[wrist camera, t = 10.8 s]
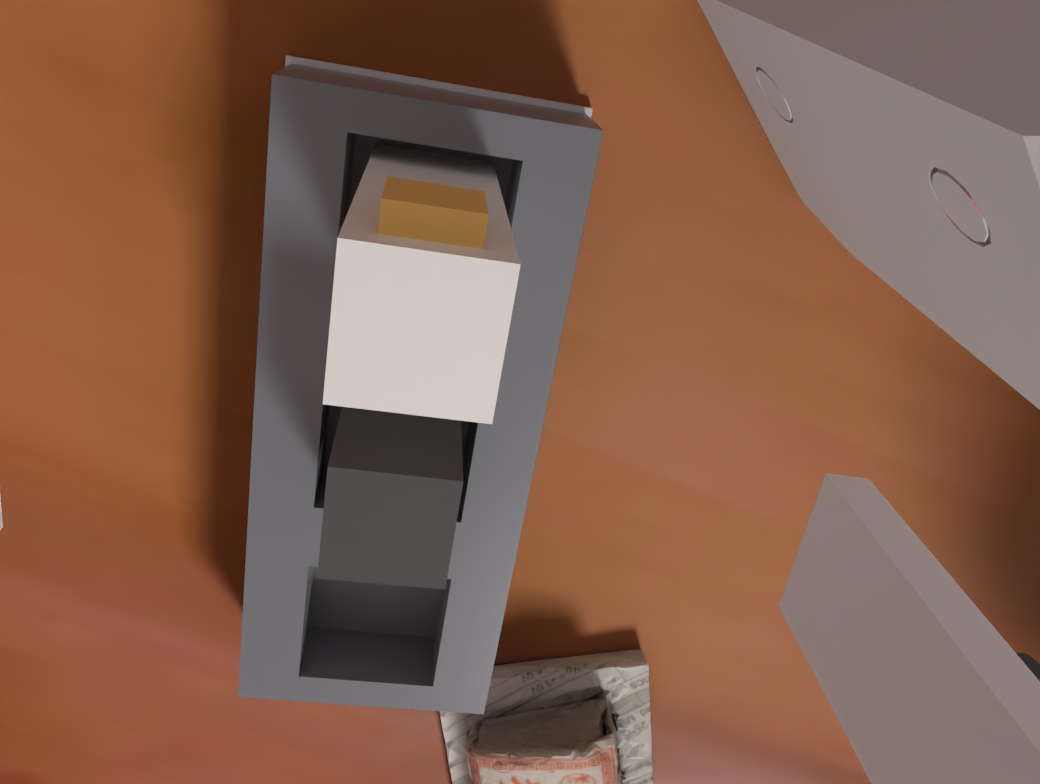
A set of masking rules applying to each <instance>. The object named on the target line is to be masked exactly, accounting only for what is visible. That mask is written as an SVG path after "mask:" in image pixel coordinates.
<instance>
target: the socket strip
mask: <svg viewBox="0 0 1040 784" xmlns="http://www.w3.org/2000/svg"><path fill="white" fill-rule="evenodd" d="M592 110H593V109H592V108H591V107H585V106H579V105H573V104H568V103H562V102H556V101H550V100H544V99H539V98H533V97H527V96H521V95H515V94H510V93H504V92H498V91H492V90H487V89H481V88H475V87H469V86H463V85H458V84H452V83H446V82H440V81H434V80H429V79H423V78H417V77H411V76H406V75H400V74H394V73H388V72H382V71H377V70H371V69H365V68H359V67H353V66H348V65H342V64H336V63H330V62H325V61H319V60H313V59H307V58H301V57H296V56H290V55H286V58H285V67H284V68H282V69H280V70H278V71H277V72H275V73H273V74H272V80H271V98H270V117H269V135H268V154H267V172H266V191H265V209H264V228H263V246H262V265H261V283H260V302H259V321H258V339H257V358H256V376H255V395H254V413H253V432H252V450H251V469H250V487H249V506H248V524H247V543H246V561H245V580H244V598H243V617H242V635H241V654H240V672H239V691H238V697H246V698H260V699H274V700H288V701H302V702H317V703H331V704H345V705H359V706H373V707H387V708H401V709H415V710H430V711H444V712H458V713H472V714H484V711H485V706H486V701H487V696H488V691H489V686H490V682H491V677H492V672H493V667H494V662H495V657H496V652H497V647H498V643H499V638H500V633H501V628H502V623H503V618H504V613H505V608H506V604H507V599H508V594H509V589H510V584H511V579H512V574H513V569H514V565H515V560H516V555H517V550H518V545H519V540H520V535H521V530H522V525H523V521H524V516H525V511H526V506H527V501H528V496H529V491H530V486H531V482H532V477H533V472H534V467H535V462H536V457H537V452H538V447H539V443H540V438H541V433H542V428H543V423H544V418H545V413H546V408H547V404H548V399H549V394H550V389H551V384H552V379H553V374H554V369H555V365H556V360H557V355H558V350H559V345H560V340H561V335H562V330H563V325H564V321H565V316H566V311H567V306H568V301H569V296H570V291H571V286H572V282H573V277H574V272H575V267H576V262H577V257H578V252H579V247H580V243H581V238H582V233H583V228H584V223H585V218H586V213H587V208H588V204H589V199H590V194H591V189H592V184H593V179H594V174H595V169H596V165H597V160H598V155H599V150H600V145H601V140H602V135H603V129H601V128H600V127H599V126H598V125H597V124H596V123H595V122H594V121H593V120H592V119H591V115H592ZM376 143H378V144H384V145H391V146H397V147H403V148H409V149H415V150H422V151H428V152H434V153H440V154H446V155H453V156H459V157H465V158H471V159H477V160H484V161H490V162H493V164H494V167H495V171H496V175H497V178H498V182H499V186H500V189H501V193H502V197H503V201H504V204H505V208H506V212H507V215H508V219H509V223H510V226H511V230H512V234H513V238H514V241H515V245H516V249H517V252H518V256H519V260H520V263H521V266H520V271H519V277H518V283H517V288H516V294H515V299H514V305H513V311H512V316H511V322H510V327H509V333H508V339H507V344H506V350H505V356H504V361H503V367H502V372H501V378H500V384H499V389H498V395H497V400H496V406H495V412H494V417H493V423H492V424H485V423H476V422H468V421H461V432H462V457H463V487H462V493H461V499H460V505H459V511H458V517H457V523H456V529H455V535H454V541H453V547H452V553H451V559H450V564H449V570H448V576H447V582H446V588H445V590H443V589H432V588H421V587H410V586H399V585H388V584H377V583H366V582H355V581H344V580H333V579H322V578H317V573H318V562H319V552H320V541H321V531H322V520H323V510H324V499H325V489H326V478H327V468H328V463H329V459H330V454H331V450H332V446H333V442H334V437H335V433H336V429H337V425H338V421H339V416H340V412H341V408H342V407H341V406H333V405H324V404H323V394H324V382H325V371H326V360H327V349H328V338H329V326H330V315H331V304H332V293H333V282H334V270H335V259H336V248H337V238H338V235H339V233H340V230H341V228H342V225H343V223H344V220H345V218H346V215H347V213H348V211H349V208H350V206H351V203H352V201H353V198H354V196H355V193H356V191H357V188H358V186H359V183H360V181H361V179H362V176H363V174H364V171H365V169H366V166H367V164H368V161H369V159H370V156H371V154H372V152H373V149H374V147H375V144H376Z"/></svg>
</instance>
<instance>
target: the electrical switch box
mask: <svg viewBox="0 0 1040 784" xmlns="http://www.w3.org/2000/svg"><path fill="white" fill-rule="evenodd" d="M697 1H698V3H699V5H700V7H701V9H702V11H703V13H704V15H705V17H706V18H707V20H708V22H709V24H710V26H711V28H712V30H713V32H714V34H715V36H716V38H717V40H718V42H719V44H720V46H721V48H722V50H723V52H724V54H725V55H726V57H727V59H728V61H729V63H730V65H731V67H732V69H733V71H734V73H735V75H736V77H737V79H738V81H739V83H740V85H741V87H742V89H743V90H744V92H745V94H746V96H747V98H748V100H749V102H750V104H751V106H752V108H753V110H754V112H755V114H756V116H757V118H758V120H759V122H760V124H761V125H762V127H763V129H764V131H765V133H766V135H767V137H768V139H769V141H770V143H771V145H772V147H773V149H774V151H775V153H776V155H777V157H778V159H779V160H780V162H781V164H782V165H783V167H784V169H785V171H786V173H787V175H788V176H789V178H790V180H791V182H792V184H793V186H794V188H795V189H796V191H797V193H798V195H799V197H800V199H801V200H802V201H803V203H804V204H805V205H806V206H807V207H808V208H809V209H810V210H811V211H812V212H813V213H814V214H815V216H816V217H817V218H818V219H819V220H820V221H821V222H822V223H823V224H824V225H825V226H826V227H827V229H828V230H829V231H830V232H831V233H832V234H833V235H834V236H835V237H836V238H837V239H838V241H839V242H840V243H841V244H842V245H843V246H844V247H845V248H846V249H847V250H848V251H849V252H850V253H851V254H852V255H853V256H854V257H856V258H857V259H858V260H859V261H860V262H862V263H863V264H864V265H865V266H866V267H868V268H869V269H870V270H871V271H872V272H874V273H875V274H876V275H877V276H879V277H880V278H881V279H882V280H883V281H885V282H886V283H887V284H888V285H889V286H891V287H892V288H893V289H894V290H895V291H897V292H898V293H899V294H900V295H901V296H903V297H904V298H905V299H906V300H908V301H909V302H910V303H911V304H912V305H914V306H915V307H916V308H917V309H918V310H920V311H921V312H922V313H923V314H924V315H926V316H927V317H928V318H929V319H930V320H932V321H933V322H934V323H935V324H937V325H938V326H939V327H940V328H941V329H943V330H944V331H945V332H946V333H947V334H949V335H950V336H951V337H952V338H953V339H955V340H956V341H957V342H958V343H959V344H961V345H962V346H963V347H964V348H966V349H967V350H968V351H969V352H970V353H972V354H973V355H974V356H975V357H976V358H978V359H979V360H980V361H981V362H982V363H984V364H985V365H986V366H987V367H988V368H990V369H991V370H992V371H993V372H994V373H996V374H997V375H998V376H999V377H1001V378H1002V379H1003V380H1004V381H1005V382H1007V383H1008V384H1009V385H1010V386H1011V387H1013V388H1014V389H1015V390H1016V391H1017V392H1019V393H1020V394H1021V395H1022V396H1023V397H1025V398H1026V399H1027V400H1028V401H1030V402H1031V403H1032V404H1033V405H1034V406H1036V407H1037V408H1038V409H1039V410H1040V0H697Z"/></svg>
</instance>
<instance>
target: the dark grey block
mask: <svg viewBox="0 0 1040 784" xmlns="http://www.w3.org/2000/svg"><path fill="white" fill-rule="evenodd" d="M462 487H463V457H462V432H461V421H459V420H451V419H442V418H434V417H426V416H417V415H409V414H400V413H392V412H383V411H375V410H366V409H358V408H349V407H342V408H341V412H340V416H339V421H338V425H337V429H336V433H335V437H334V442H333V446H332V450H331V454H330V459H329V463H328V468H327V478H326V489H325V499H324V510H323V520H322V531H321V541H320V552H319V562H318V573H317V578H322V579H333V580H344V581H355V582H366V583H377V584H388V585H399V586H410V587H421V588H432V589H443V590H445V588H446V582H447V576H448V570H449V564H450V559H451V553H452V547H453V541H454V535H455V529H456V523H457V517H458V511H459V505H460V499H461V493H462Z"/></svg>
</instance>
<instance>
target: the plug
mask: <svg viewBox="0 0 1040 784" xmlns="http://www.w3.org/2000/svg"><path fill="white" fill-rule="evenodd" d="M520 266H521V263H520V260H519V256H518V252H517V249H516V245H515V241H514V238H513V234H512V230H511V226H510V223H509V219H508V215H507V212H506V208H505V204H504V201H503V197H502V193H501V189H500V186H499V182H498V178H497V175H496V171H495V167H494V164H493V162H490V161H484V160H477V159H471V158H465V157H459V156H453V155H446V154H440V153H434V152H428V151H422V150H415V149H409V148H403V147H397V146H391V145H384V144H378V143H376V144H375V147H374V149H373V152H372V154H371V156H370V159H369V161H368V164H367V166H366V169H365V171H364V174H363V176H362V179H361V181H360V183H359V186H358V188H357V191H356V193H355V196H354V198H353V201H352V203H351V206H350V208H349V211H348V213H347V215H346V218H345V220H344V223H343V225H342V228H341V230H340V233H339V235H338V238H337V248H336V259H335V270H334V282H333V293H332V304H331V315H330V326H329V338H328V349H327V360H326V371H325V382H324V394H323V404H324V405H333V406H341V407H349V408H358V409H366V410H375V411H383V412H392V413H400V414H409V415H417V416H426V417H434V418H442V419H451V420H459V421H468V422H476V423H485V424H492V423H493V417H494V412H495V406H496V400H497V395H498V389H499V384H500V378H501V372H502V367H503V361H504V356H505V350H506V344H507V339H508V333H509V327H510V322H511V316H512V311H513V305H514V299H515V294H516V288H517V283H518V277H519V271H520Z"/></svg>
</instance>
